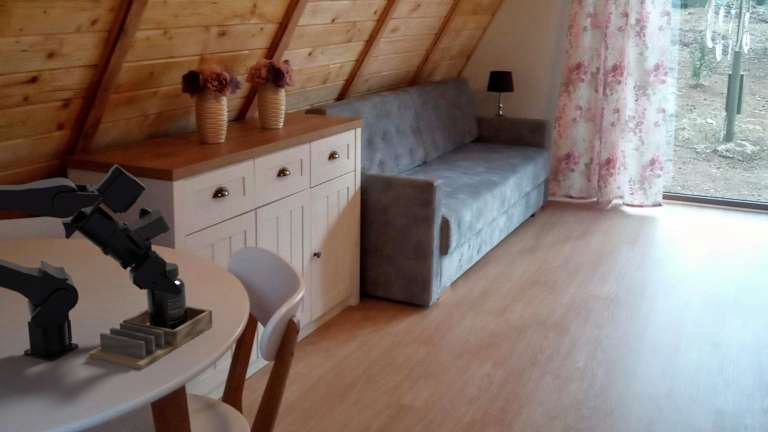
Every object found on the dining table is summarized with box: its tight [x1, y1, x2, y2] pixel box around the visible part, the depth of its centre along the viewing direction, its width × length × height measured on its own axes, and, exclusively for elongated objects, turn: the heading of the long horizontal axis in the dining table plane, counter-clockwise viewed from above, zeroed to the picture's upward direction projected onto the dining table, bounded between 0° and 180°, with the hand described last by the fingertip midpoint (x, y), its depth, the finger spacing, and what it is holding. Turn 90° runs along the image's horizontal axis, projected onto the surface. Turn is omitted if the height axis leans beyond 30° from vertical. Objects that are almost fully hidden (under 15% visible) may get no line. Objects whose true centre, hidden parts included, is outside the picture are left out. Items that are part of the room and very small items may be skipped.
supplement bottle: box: [146, 262, 188, 330], centre depth 150 cm, size 7×7×12 cm
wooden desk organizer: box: [88, 305, 213, 370], centre depth 148 cm, size 20×11×4 cm, turn 157°
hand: (174, 284), depth 151 cm, fingers open, 9 cm apart
